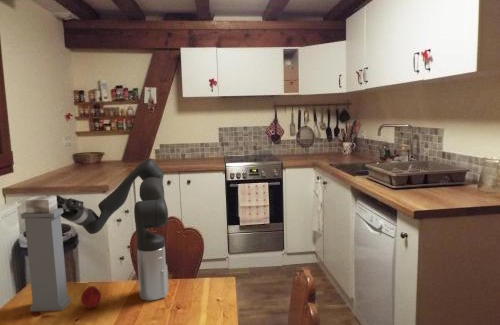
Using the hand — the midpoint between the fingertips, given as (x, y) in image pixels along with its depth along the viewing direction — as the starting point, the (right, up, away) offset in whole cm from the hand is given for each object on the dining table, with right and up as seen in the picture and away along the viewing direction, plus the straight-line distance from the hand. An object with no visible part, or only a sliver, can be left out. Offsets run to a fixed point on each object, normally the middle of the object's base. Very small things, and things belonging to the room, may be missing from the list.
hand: (52, 198), depth 121 cm
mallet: (0, -3, -2) cm, 3 cm away
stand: (+1, -35, -2) cm, 35 cm away
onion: (+15, -35, -3) cm, 38 cm away
